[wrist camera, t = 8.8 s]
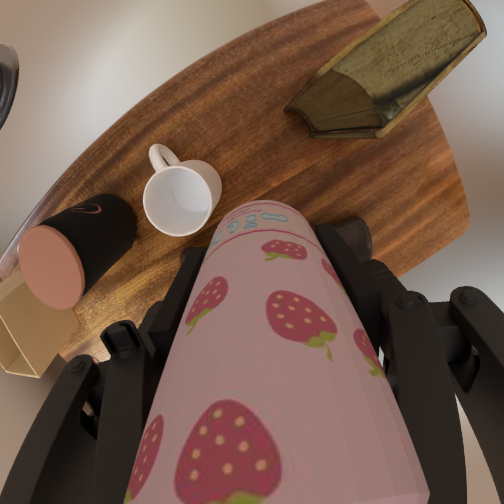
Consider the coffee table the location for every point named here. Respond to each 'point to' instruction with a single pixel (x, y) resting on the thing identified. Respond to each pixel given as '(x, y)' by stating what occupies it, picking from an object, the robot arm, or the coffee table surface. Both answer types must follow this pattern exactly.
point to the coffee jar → (75, 249)
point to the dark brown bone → (349, 230)
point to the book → (388, 69)
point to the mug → (180, 193)
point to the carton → (30, 329)
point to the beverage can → (273, 383)
